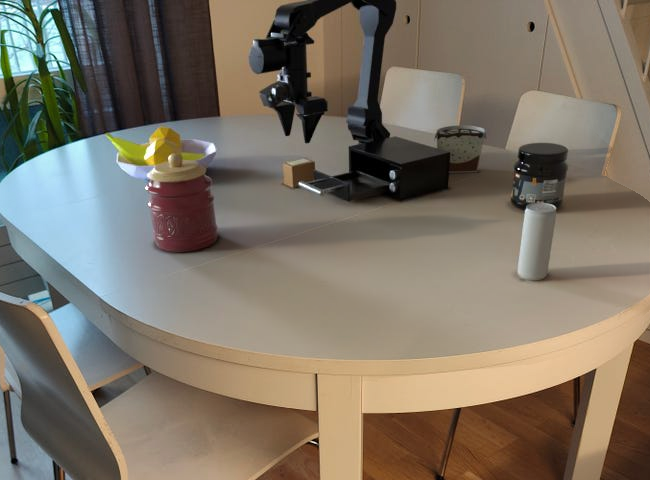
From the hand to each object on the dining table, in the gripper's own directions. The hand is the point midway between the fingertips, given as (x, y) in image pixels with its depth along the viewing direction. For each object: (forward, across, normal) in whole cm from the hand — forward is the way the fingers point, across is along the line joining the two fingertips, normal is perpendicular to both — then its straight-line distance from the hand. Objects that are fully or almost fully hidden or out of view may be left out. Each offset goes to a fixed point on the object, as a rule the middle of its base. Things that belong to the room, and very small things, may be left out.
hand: (297, 139), depth 161 cm
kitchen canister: (+12, +17, -36) cm, 42 cm away
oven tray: (+10, +13, +4) cm, 17 cm away
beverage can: (+11, +69, +5) cm, 70 cm away
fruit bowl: (+12, -32, -22) cm, 41 cm away
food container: (+11, +14, +38) cm, 41 cm away
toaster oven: (+11, +15, +18) cm, 26 cm away
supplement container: (+11, +45, +32) cm, 56 cm away
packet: (+11, -2, +1) cm, 11 cm away
